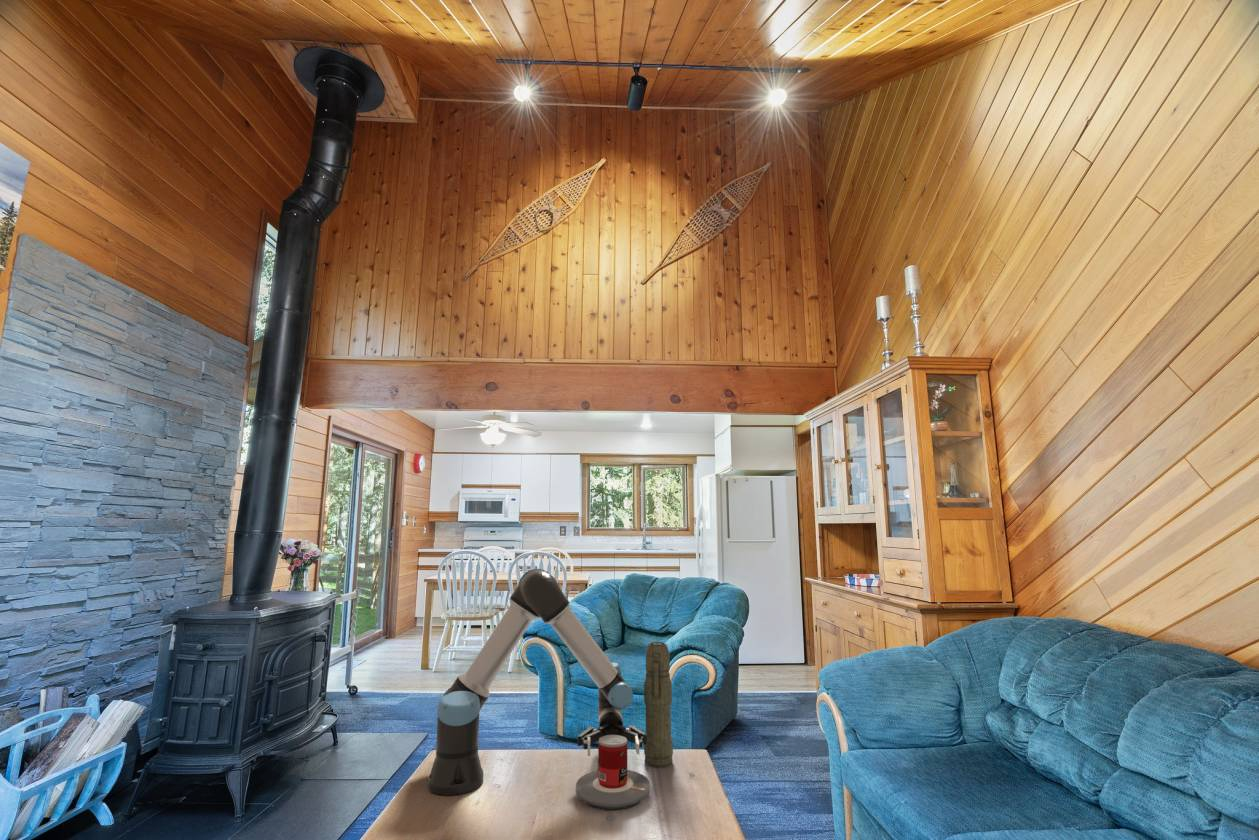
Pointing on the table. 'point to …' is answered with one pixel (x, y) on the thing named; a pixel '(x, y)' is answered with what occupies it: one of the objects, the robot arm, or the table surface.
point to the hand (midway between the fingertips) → (613, 749)
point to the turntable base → (612, 807)
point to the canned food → (612, 761)
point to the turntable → (613, 790)
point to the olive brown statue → (658, 706)
